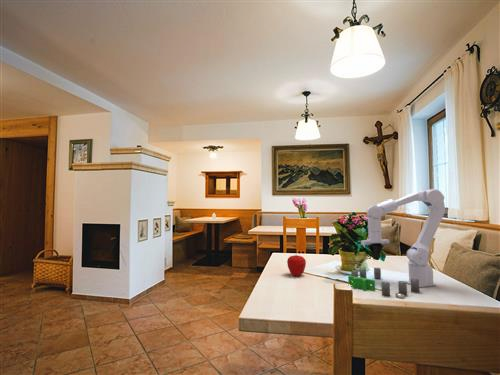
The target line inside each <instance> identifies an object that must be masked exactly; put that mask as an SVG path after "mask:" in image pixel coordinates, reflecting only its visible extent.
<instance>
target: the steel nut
mask: <svg viewBox="0 0 500 375" xmlns="http://www.w3.org/2000/svg"><path fill="white" fill-rule="evenodd" d="M394 294H395V298H397V299H405V297H406V296H404V294H403V293H399V292H395V293H394Z"/></svg>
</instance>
